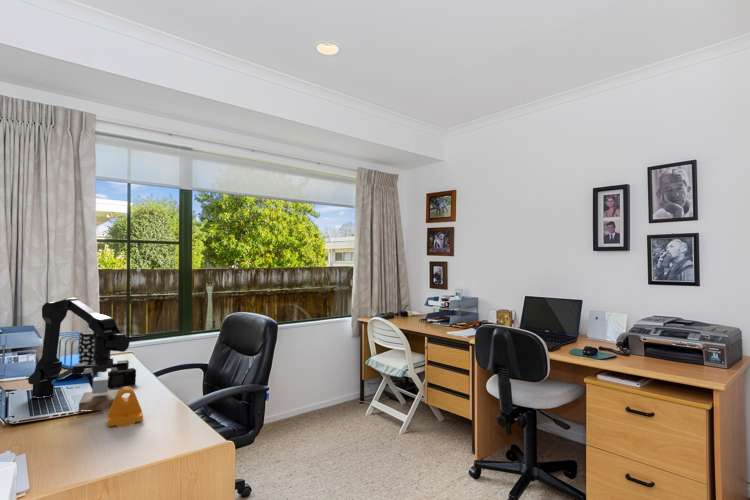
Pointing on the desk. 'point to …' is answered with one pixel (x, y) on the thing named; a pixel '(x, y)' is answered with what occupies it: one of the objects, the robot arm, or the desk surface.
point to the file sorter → (71, 359)
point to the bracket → (124, 409)
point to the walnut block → (97, 400)
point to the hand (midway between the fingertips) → (100, 388)
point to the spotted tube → (86, 348)
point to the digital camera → (123, 378)
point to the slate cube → (100, 384)
